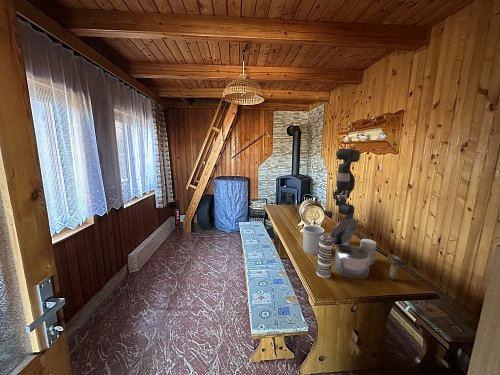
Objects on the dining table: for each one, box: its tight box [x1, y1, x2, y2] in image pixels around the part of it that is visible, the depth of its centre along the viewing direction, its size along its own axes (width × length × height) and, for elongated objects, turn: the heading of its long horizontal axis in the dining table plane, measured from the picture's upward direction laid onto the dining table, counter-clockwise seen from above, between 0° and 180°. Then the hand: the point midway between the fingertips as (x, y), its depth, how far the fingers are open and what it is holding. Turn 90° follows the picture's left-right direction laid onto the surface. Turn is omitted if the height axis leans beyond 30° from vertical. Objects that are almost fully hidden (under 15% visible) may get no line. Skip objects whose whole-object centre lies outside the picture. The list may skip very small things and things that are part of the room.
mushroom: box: [386, 254, 407, 282], centre depth 127 cm, size 9×9×15 cm
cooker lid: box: [330, 214, 358, 246], centre depth 142 cm, size 21×24×3 cm
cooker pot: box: [333, 244, 371, 280], centre depth 138 cm, size 20×21×12 cm
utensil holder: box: [302, 224, 325, 256], centre depth 162 cm, size 15×15×18 cm
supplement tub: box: [359, 238, 377, 266], centre depth 147 cm, size 10×10×15 cm
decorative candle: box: [315, 233, 335, 279], centre depth 131 cm, size 9×9×25 cm
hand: (340, 205), depth 143 cm, fingers open, 5 cm apart
